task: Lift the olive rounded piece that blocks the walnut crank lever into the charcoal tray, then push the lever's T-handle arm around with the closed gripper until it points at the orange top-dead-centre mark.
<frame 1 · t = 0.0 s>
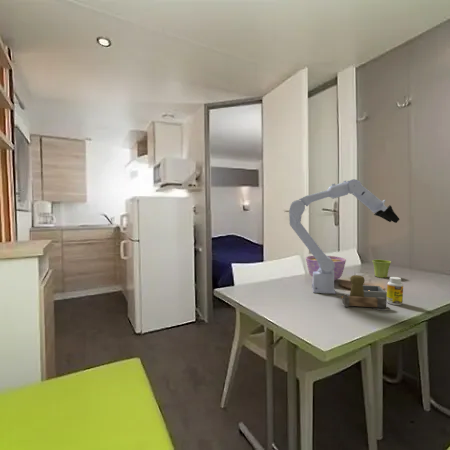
hand: (394, 220, 133), 32 cm above the table, tool tilted 50°, fingers open, 7 cm apart
olive rounded piece: (356, 303, 124), on the table
crank: (364, 301, 118), point 2 cm above the table, hinge at 0.0°
supplement bottle: (394, 303, 123), on the table
plant pot: (381, 277, 171), on the table
crank base: (380, 308, 117), on the table
tray: (369, 294, 135), on the table
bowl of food: (325, 280, 162), on the table
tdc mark: (344, 297, 131), on the table
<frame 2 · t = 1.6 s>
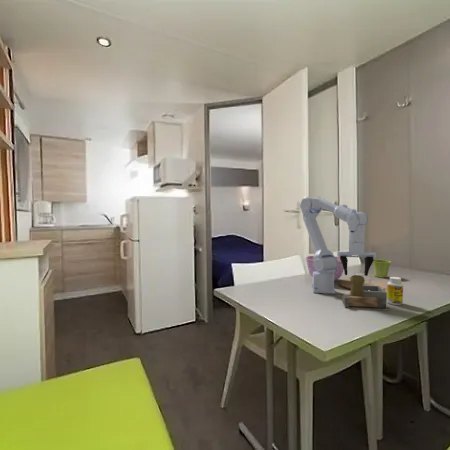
hand: (355, 275, 127), 10 cm above the table, tool pointing down, fingers open, 7 cm apart
nothing on the table moved.
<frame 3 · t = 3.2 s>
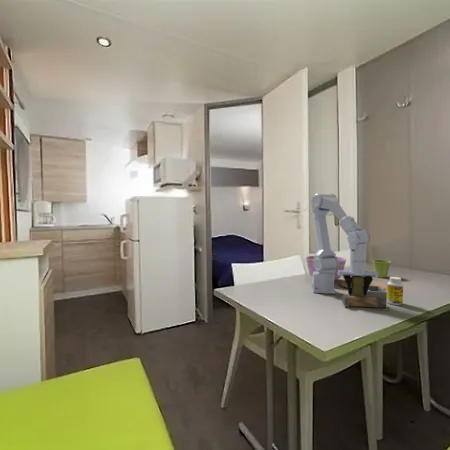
hand: (357, 294, 123), 3 cm above the table, tool pointing down, fingers closed on olive rounded piece, 5 cm apart
olive rounded piece: (356, 303, 124), on the table, touching gripper
everything else where it was.
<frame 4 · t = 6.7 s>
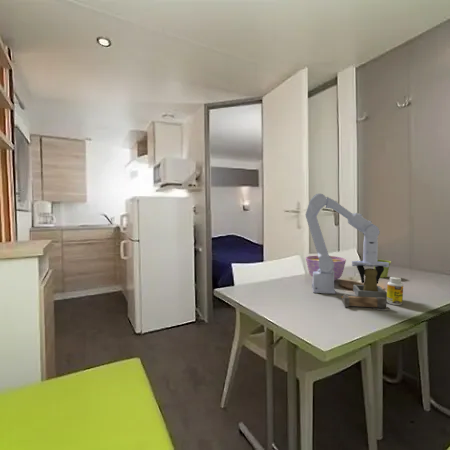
hand: (369, 283, 135), 5 cm above the table, tool pointing down, fingers closed on olive rounded piece, 5 cm apart
olive rounded piece: (370, 294, 134), resting on tray, touching gripper
everything else where it was.
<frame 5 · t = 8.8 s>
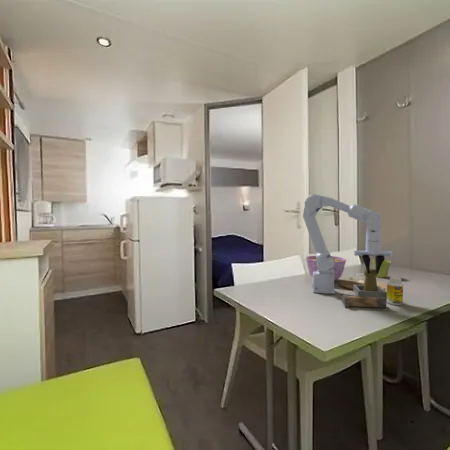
hand: (372, 273, 130), 10 cm above the table, tool pointing down, fingers closed on olive rounded piece, 3 cm apart
olive rounded piece: (370, 294, 134), resting on tray, touching gripper
everything else where it was.
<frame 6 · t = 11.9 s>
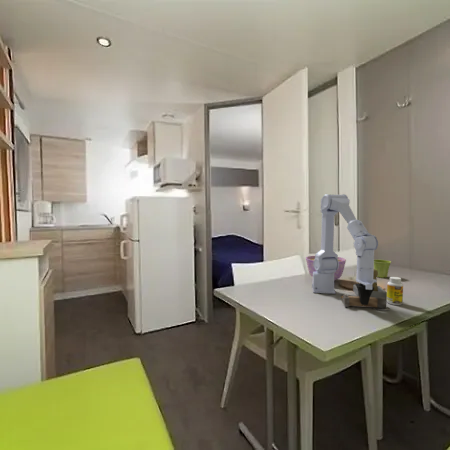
hand: (364, 303, 116), 2 cm above the table, tool pointing down, fingers closed
olive rounded piece: (370, 294, 134), resting on tray
crank: (364, 301, 118), point 2 cm above the table, hinge at 0.0°, touching gripper
everything else where it was.
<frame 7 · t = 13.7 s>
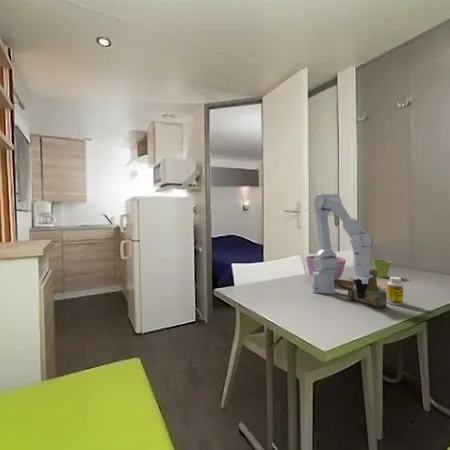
hand: (360, 298, 123), 2 cm above the table, tool pointing down, fingers closed, pressing on crank
crank: (367, 298, 122), point 2 cm above the table, hinge at 50.4°, touching gripper
everything else where it was.
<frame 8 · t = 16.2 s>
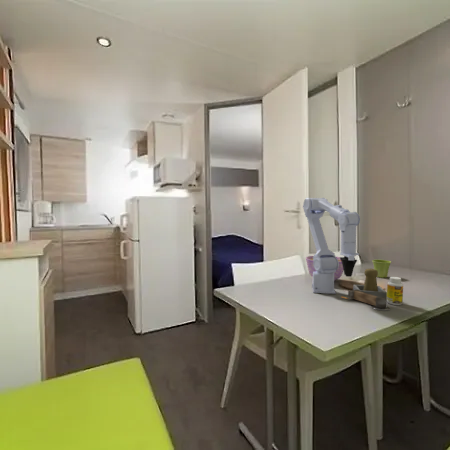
hand: (347, 275, 126), 10 cm above the table, tool pointing down, fingers closed
crank: (368, 298, 122), point 2 cm above the table, hinge at 51.7°
everything else where it was.
at the end: olive rounded piece 1.4 cm off-centre on the tray, point 0.4 cm above the tray's base; olive rounded piece tilted 0°; crank at +52° (first picture: +0°) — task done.
